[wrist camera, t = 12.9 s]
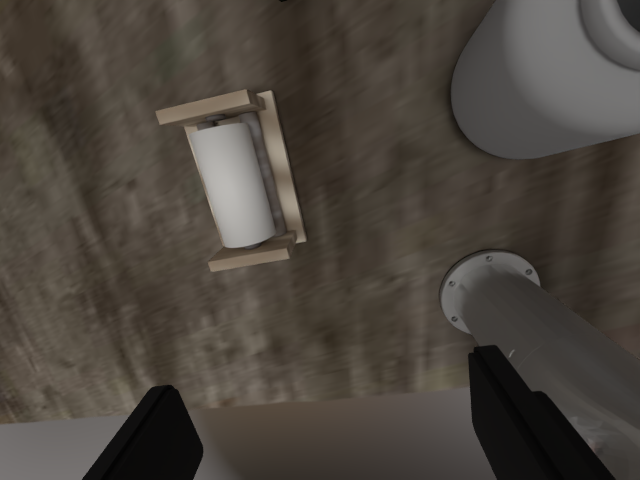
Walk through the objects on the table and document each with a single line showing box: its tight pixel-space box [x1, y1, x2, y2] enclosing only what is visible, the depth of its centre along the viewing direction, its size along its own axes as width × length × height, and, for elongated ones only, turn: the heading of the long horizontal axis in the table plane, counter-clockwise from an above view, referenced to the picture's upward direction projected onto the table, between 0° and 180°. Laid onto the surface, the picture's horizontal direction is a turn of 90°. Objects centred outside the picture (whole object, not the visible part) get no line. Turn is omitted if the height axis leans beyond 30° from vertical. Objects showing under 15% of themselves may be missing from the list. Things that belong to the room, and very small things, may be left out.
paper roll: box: [189, 123, 276, 248], centre depth 33 cm, size 12×6×6 cm, turn 12°
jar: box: [451, 0, 640, 159], centre depth 20 cm, size 19×15×25 cm
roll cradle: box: [155, 89, 307, 272], centre depth 34 cm, size 18×11×8 cm, turn 12°
